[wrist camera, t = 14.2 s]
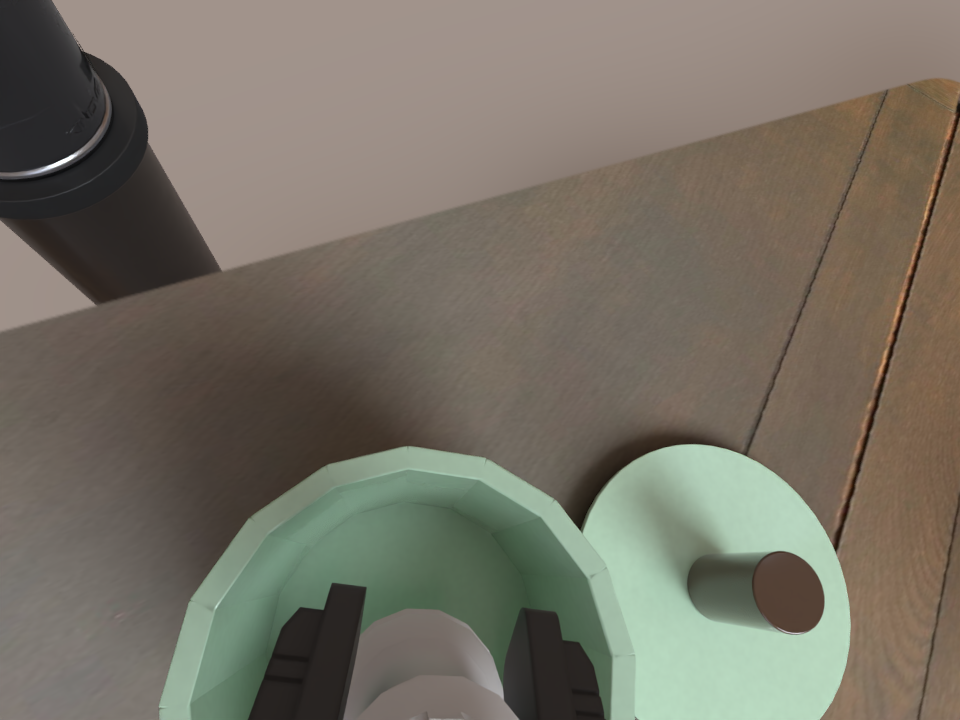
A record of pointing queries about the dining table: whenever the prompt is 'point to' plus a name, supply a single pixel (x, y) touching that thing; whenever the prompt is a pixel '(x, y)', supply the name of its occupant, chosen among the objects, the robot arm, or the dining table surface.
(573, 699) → the robot arm
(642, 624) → the jar lid
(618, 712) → the jar
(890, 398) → the dining table surface
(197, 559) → the dining table surface
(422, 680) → the rook chess piece
